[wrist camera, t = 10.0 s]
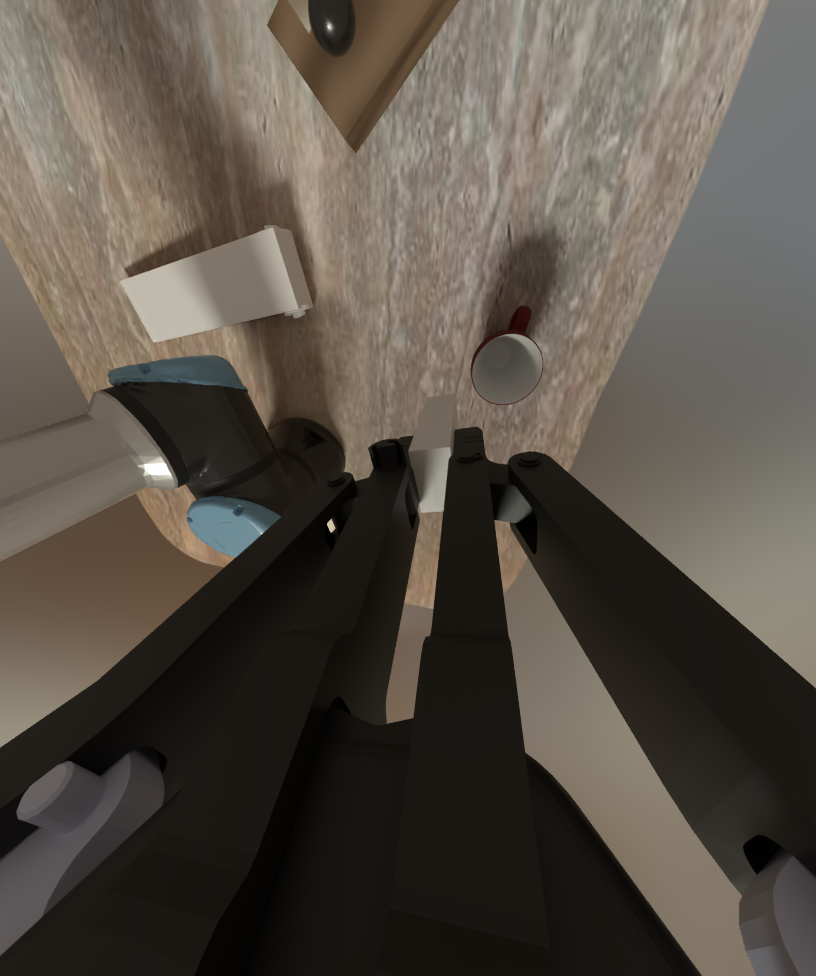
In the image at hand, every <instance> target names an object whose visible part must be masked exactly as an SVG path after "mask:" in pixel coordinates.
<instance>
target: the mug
mask: <svg viewBox="0 0 816 976" xmlns="http://www.w3.org/2000/svg"><path fill="white" fill-rule="evenodd" d="M530 317H531V310H530V308H529V307H527V306H520V307H518V308H517V310H516V311H515V313H514V315H513V317H512V319H511V322H510V325H509V328H508V330H505V331H500V332H497V333H495V334H493V335H491V336H489V337H488V338H487V339H485V340H484V341H483V342H482V343H481V344H480V346H479V347H478V348H477V350H476V352H475V354H474V356H473V359H472V363H471V377H472V382H473V385H474V388H475V390H476V391H477V393H478V394H479V395H480V396H481V397H482V398H483V399H484V400H486V401H488V402H490V403H492V404H496V405H509V404H513V403H516V402H518V401H520V400H522V399H524V398H525V397H527V396H528V395H529V394H530V393H531V392H532V391H533V390H534V389H535V387H536V386H537V384H538V382H539V381H540V378H541V375H542V371H543V357H542V354H541V351H540V349H539V347H538V346H537V344H536V343H535V342H534V341H533V340H532V339H531V338H530V337H529V336H528V335H526V334H525V331H526V328H527V326H528V323H529V320H530Z"/></svg>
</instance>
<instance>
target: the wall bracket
mask: <svg viewBox="0 0 816 976" xmlns="http://www.w3.org/2000/svg"><path fill="white" fill-rule="evenodd" d="M264 228H265V230H262V231H259V232H257V233H255V234H252V235H249V236H247V237H244V238H241V239H238V240H235V241H232V242H230V243H227V244H224V245H221V246H218V247H215V248H212V249H210V250H207V251H204V252H201V253H198V254H195V255H193V256H190V257H187V258H184V259H181V260H178V261H176V262H173V263H170V264H167V265H164V266H161V267H158V268H156V269H153V270H150V271H147V272H144V273H141V274H139V275H136V276H133V277H130V278H127V279H124V280H122V281H120V283H121V285H122V286H123V288H124V290H125V292H126V294H127V296H128V297H129V299H130V301H131V303H132V305H133V306H134V308H135V310H136V312H137V314H138V315H139V317H140V319H141V321H142V323H143V324H144V326H145V328H146V330H147V332H148V333H149V335H150V337H151V339H152V341H153V343H154V342H160V341H164V340H168V339H173V338H177V337H181V336H186V335H190V334H194V333H198V332H203V331H207V330H211V329H216V328H220V327H224V326H229V325H233V324H237V323H242V322H246V321H250V320H254V319H259V318H263V317H267V316H272V315H276V314H280V313H284V314H285V316H293V317H294V319H295V318H300V317H301V316H303V315H306V313H305V310H307V309H310V308H314V307H313V304H312V300H311V297H310V294H309V290H308V287H307V283H306V280H305V276H304V273H303V270H302V266H301V263H300V259H299V256H298V252H297V249H296V246H295V242H294V239H293V235H292V232H291V231H290V230H288V229H283V228H279V226H276V225H266V226H264Z"/></svg>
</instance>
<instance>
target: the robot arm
mask: <svg viewBox="0 0 816 976" xmlns="http://www.w3.org/2000/svg"><path fill="white" fill-rule="evenodd" d="M108 377H109V382H110V384H111V385H112V386H114V387H110V388H107V389H103V390H100V391H96V392H94V393H93V396H92V398H91V401H90V404H89V407H88V410H87V411H86V412H85V413H84V414H82V415H79V416H76V417H72V418H70V419H66V420H63V421H60V422H57V423H54V424H51V425H47V426H44V427H41V428H38V429H35V430H31V431H28V432H25V433H22V434H19V435H16V436H13V437H9V438H7V439H3V440H0V561H2V560H4V559H6V558H7V557H9V556H12V555H14V554H16V553H17V552H20V551H22V550H23V549H25V548H28V547H30V546H31V545H33V544H35V543H37V542H39V541H41V540H43V539H45V538H47V537H49V536H51V535H53V534H55V533H57V532H59V531H61V530H63V529H65V528H67V527H69V526H71V525H73V524H75V523H77V522H79V521H81V520H83V519H85V518H87V517H89V516H91V515H93V514H95V513H97V512H99V511H101V510H103V509H105V508H107V507H109V506H111V505H113V504H115V503H117V502H119V501H121V500H123V499H125V498H127V497H129V496H131V495H133V494H135V493H137V492H139V491H141V490H143V489H145V488H159V489H165V490H174V489H177V488H179V487H180V486H182V485H184V484H186V485H187V487H188V488H189V490H190V491H191V492H192V494H193V495H194V497H195V498H196V500H195V501H194V502H193V503H192V504H191V506H190V508H189V510H188V512H187V516H188V518H187V522H188V524H189V526H190V528H191V530H192V531H193V532H194V534H195V535H196V536H197V537H198V538H199V539H200V540H201V541H203V542H204V543H205V544H207V545H208V546H210V547H211V548H213V549H215V550H217V551H219V552H221V553H224V554H227V555H229V556H232V557H236V558H235V559H234V560H232V561H231V562H230V563H229V564H228V565H227V566H226V567H225V568H223V569H222V570H221V571H220V572H219V573H218V574H217V575H216V576H214V577H213V578H212V579H211V580H210V581H209V582H208V583H207V584H205V585H204V586H203V587H202V588H201V589H200V590H199V591H198V592H197V593H195V594H194V595H193V596H192V597H191V598H190V599H189V600H188V601H186V602H185V603H184V604H183V605H182V606H181V607H180V608H179V609H177V610H176V611H175V612H174V613H173V614H172V615H171V616H170V617H169V618H167V619H166V620H165V621H164V622H163V623H162V624H161V625H160V626H159V627H157V628H156V629H155V630H154V631H153V632H152V633H151V634H149V635H148V636H147V637H146V638H145V639H144V640H143V641H142V642H141V643H139V644H138V645H137V646H136V647H135V648H134V649H133V650H132V651H130V652H129V653H128V654H127V655H126V656H125V657H124V658H123V659H121V660H120V661H119V662H118V663H117V664H116V665H115V666H114V667H112V668H111V669H110V670H109V671H108V672H107V673H106V674H105V675H103V676H102V677H101V678H100V679H99V680H98V681H97V682H95V683H94V684H92V685H91V686H89V687H88V688H86V689H85V690H83V691H82V692H81V693H79V694H78V695H76V696H75V697H73V698H72V699H70V700H69V701H68V702H66V703H65V704H63V705H62V706H60V707H59V708H57V709H56V710H55V711H53V712H52V713H50V714H49V715H47V716H46V717H44V718H43V719H41V720H40V721H38V722H37V723H36V724H34V725H33V726H31V727H30V728H28V729H27V730H25V731H24V732H22V733H21V734H20V735H18V736H17V737H15V738H14V739H12V740H11V741H9V742H8V743H6V744H5V745H3V746H2V747H1V748H0V976H702V975H701V974H700V973H699V971H698V970H697V969H696V967H695V966H694V964H693V963H692V962H691V960H690V959H689V957H688V956H687V955H686V954H685V952H684V951H683V949H682V948H681V946H680V945H679V944H678V942H677V941H676V940H675V938H674V937H673V935H672V934H671V933H670V931H669V930H668V929H667V927H666V926H665V924H664V923H663V922H662V921H661V919H660V918H659V916H658V915H657V913H656V912H655V911H654V909H653V908H652V907H651V905H650V904H649V902H648V901H647V900H646V899H645V897H644V896H643V894H642V893H641V891H640V890H639V889H638V887H637V886H636V885H635V883H634V882H633V880H632V879H631V878H630V876H629V875H628V874H627V872H626V871H625V870H624V868H623V867H622V865H621V864H620V863H619V861H618V860H617V859H616V857H615V856H614V854H613V853H612V852H611V850H610V849H609V848H608V846H607V845H606V843H605V842H604V841H603V839H602V838H601V837H600V835H599V834H598V832H597V831H596V830H595V828H594V827H593V826H592V824H591V823H590V821H589V820H588V819H587V817H586V816H585V815H584V813H583V812H582V810H581V809H580V808H579V806H578V805H577V804H576V802H575V801H574V800H573V799H572V797H571V796H570V795H569V793H568V792H567V791H566V790H565V789H564V788H563V787H562V786H561V784H560V783H559V782H558V781H557V780H556V779H555V778H554V777H553V776H552V775H551V774H550V773H549V772H548V771H547V770H546V769H545V768H544V767H543V766H542V765H540V763H538V762H537V761H536V760H535V759H533V758H532V757H530V756H529V755H528V754H526V753H525V748H524V740H523V732H522V725H521V717H520V709H519V701H518V694H517V686H516V678H515V670H514V663H513V655H512V647H511V642H510V639H509V636H508V628H507V620H506V612H505V604H504V596H503V588H502V580H501V571H500V563H499V555H498V547H497V539H496V531H495V523H494V520H499V521H505V522H510V527H511V530H512V531H513V533H514V535H515V536H516V538H517V540H518V541H519V543H520V545H521V546H522V548H523V550H524V551H525V553H526V555H527V557H528V558H529V560H530V562H531V563H532V565H533V566H534V568H535V570H536V572H537V573H538V575H539V577H540V578H541V580H542V581H543V583H544V585H545V587H546V588H547V590H548V592H549V593H550V595H551V597H552V598H553V600H554V601H555V603H556V605H557V607H558V609H559V610H560V612H561V614H562V615H563V617H564V618H565V620H566V622H567V624H568V625H569V627H570V629H571V630H572V632H573V634H574V635H575V637H576V639H577V640H578V642H579V644H580V645H581V647H582V649H583V650H584V652H585V654H586V656H587V657H588V659H589V661H590V662H591V664H592V665H593V667H594V669H595V671H596V672H597V674H598V676H599V677H600V679H601V681H602V682H603V684H604V686H605V687H606V689H607V691H608V692H609V694H610V696H611V697H612V699H613V701H614V703H615V704H616V706H617V708H618V709H619V711H620V713H621V714H622V716H623V718H624V719H625V721H626V723H627V724H628V726H629V727H630V729H631V731H632V733H633V734H634V736H635V738H636V739H637V741H638V743H639V744H640V746H641V748H642V750H643V751H644V753H645V755H646V756H647V758H648V760H649V761H650V763H651V765H652V766H653V768H654V769H655V771H656V773H657V775H658V776H659V778H660V780H661V781H662V783H663V785H664V786H665V788H666V790H667V791H668V793H669V794H670V796H671V797H672V799H673V800H674V802H675V803H676V805H677V807H678V808H679V810H680V811H681V813H682V814H683V816H684V818H685V819H686V821H687V822H688V824H689V825H690V827H691V828H692V830H693V831H694V833H695V834H696V835H697V837H698V838H699V839H700V841H701V842H702V844H703V845H704V846H705V848H706V849H707V850H708V852H709V853H710V854H711V856H712V857H713V858H714V859H715V861H716V863H717V864H718V865H719V867H720V868H721V869H722V871H723V872H724V873H725V875H726V876H727V877H728V879H729V880H730V881H731V883H732V884H733V885H734V886H735V888H736V889H737V890H738V891H739V892H740V894H741V895H742V898H741V900H740V902H739V926H740V930H741V934H742V938H743V942H744V946H745V950H746V953H747V955H748V957H749V960H750V962H751V964H752V966H753V968H754V971H755V973H756V975H757V976H816V688H815V687H814V686H812V685H811V684H810V683H809V682H808V681H807V680H806V679H804V678H803V677H802V676H801V675H800V674H799V673H797V672H796V671H795V670H794V669H793V668H792V667H791V666H789V665H788V664H787V663H786V662H785V661H784V660H783V659H781V658H780V657H779V656H778V655H777V654H776V653H774V652H773V651H772V650H771V649H770V648H769V647H768V646H767V645H765V644H764V643H763V642H762V641H761V640H760V639H759V638H757V637H756V636H755V635H754V634H753V633H752V632H750V631H749V630H748V629H747V628H746V627H745V626H743V625H742V624H741V623H740V622H739V621H738V620H737V619H736V618H734V617H733V616H732V615H731V614H730V613H729V612H728V611H726V610H725V609H724V608H723V607H722V606H721V605H719V604H718V603H717V602H716V601H715V600H714V599H713V598H711V597H710V596H709V595H708V594H707V593H706V592H705V591H703V590H702V589H701V588H700V587H699V586H698V585H697V584H695V583H694V582H693V581H692V580H691V579H689V578H688V577H687V576H686V575H685V574H684V573H683V572H682V571H680V570H679V569H678V568H677V567H676V566H675V565H674V564H672V563H671V562H670V561H669V560H668V559H667V558H666V557H664V556H663V555H662V554H661V553H660V552H658V551H657V550H656V549H655V548H654V547H653V546H651V544H649V543H648V542H647V541H646V540H645V539H644V538H643V537H641V536H640V535H639V534H638V533H637V532H636V531H635V530H633V529H632V528H631V527H630V526H629V525H628V524H626V523H625V522H624V521H623V520H622V519H621V518H619V517H618V516H617V515H616V514H615V513H614V512H612V511H611V510H610V509H609V508H608V507H607V506H606V505H605V504H604V503H602V502H601V501H600V500H599V499H598V498H596V497H595V496H594V495H593V494H592V493H591V492H590V491H588V490H587V489H586V488H585V487H584V486H583V485H582V484H580V483H579V482H578V481H577V480H576V479H575V478H574V477H572V476H571V475H570V474H569V473H568V472H567V471H566V470H564V469H563V468H562V467H561V466H560V465H559V464H558V463H556V462H555V461H554V460H553V459H552V458H551V457H549V456H547V455H546V454H543V453H538V452H532V451H530V452H525V453H519V454H516V455H514V456H512V457H511V458H510V459H509V461H508V465H507V464H497V463H494V462H491V461H489V460H488V459H487V458H486V455H485V448H484V440H483V432H482V430H481V429H480V428H478V427H471V428H463V429H459V423H458V415H457V406H456V397H455V394H448V395H442V396H435V397H429V398H427V399H426V402H425V405H424V408H423V411H422V413H421V416H420V419H419V422H418V425H417V428H416V431H415V434H414V436H406V437H401V438H399V439H386V440H382V441H379V442H376V443H374V444H373V445H371V446H370V447H369V448H368V450H369V453H370V456H371V460H372V463H373V467H374V469H373V471H372V473H371V475H370V477H369V478H366V479H362V480H358V481H355V480H354V477H353V475H352V474H351V473H347V472H344V469H345V458H344V454H343V451H342V448H341V446H340V444H339V443H338V441H337V440H336V438H335V437H334V436H333V435H332V434H331V433H330V432H329V431H328V430H327V429H325V428H324V427H323V426H321V425H319V424H317V423H315V422H313V421H310V420H307V419H302V418H291V419H287V420H284V421H282V422H280V423H278V424H277V425H276V426H274V427H273V428H272V429H271V430H269V432H267V430H266V428H265V426H264V424H263V422H262V420H261V418H260V416H259V414H258V412H257V410H256V408H255V406H254V404H253V402H252V400H251V398H250V396H249V394H248V393H247V392H248V389H247V388H246V387H245V386H243V384H242V382H241V380H240V379H239V377H238V375H237V373H236V372H235V370H234V368H233V366H232V365H231V364H230V363H229V362H228V361H227V360H226V359H224V358H222V357H219V356H214V355H200V356H188V357H179V358H172V359H164V360H158V361H152V362H149V363H142V364H137V365H129V366H124V367H120V368H116V369H114V370H111V371H110V372H109V373H108ZM419 504H420V509H421V513H423V512H438V511H443V520H442V530H441V540H440V550H439V560H438V570H437V580H436V590H435V600H434V610H433V620H432V629H431V634H430V636H428V637H425V640H424V643H423V648H422V653H421V661H420V669H419V677H418V686H417V693H416V702H415V710H414V718H412V719H407V720H403V721H399V722H394V723H389V724H387V720H386V695H387V689H388V684H389V679H390V674H391V668H392V662H393V658H394V653H395V647H396V642H397V636H398V631H399V626H400V621H401V616H402V610H403V605H404V600H405V595H406V590H407V584H408V579H409V574H410V568H411V563H412V558H413V553H414V547H415V542H416V537H417V532H418V526H419V521H420V519H419V513H418V505H419ZM331 518H332V521H333V523H334V526H335V528H336V529H335V530H334V531H333V532H332V533H331V532H330V531H329V528H328V526H327V523H328V522H329V520H330V519H331Z"/></svg>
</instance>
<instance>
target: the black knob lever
mask: <svg viewBox="0 0 816 976" xmlns="http://www.w3.org/2000/svg"><path fill="white" fill-rule="evenodd" d="M308 15H309V21H310V26H311V29H312V32H313V35H314V37H315V39H316V41H317V43H318V45H319V46H320V47H321V49H322V50H323V51H324V52H325V53H326V54H327V55H329V56H332V57H336V58H338V57H342V56H344V55H345V54H346V53H347V52H348V51H349V50H350V48H351V46H352V44H353V41H354V37H355V32H356V15H355V8H354V4H353V0H308Z"/></svg>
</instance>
